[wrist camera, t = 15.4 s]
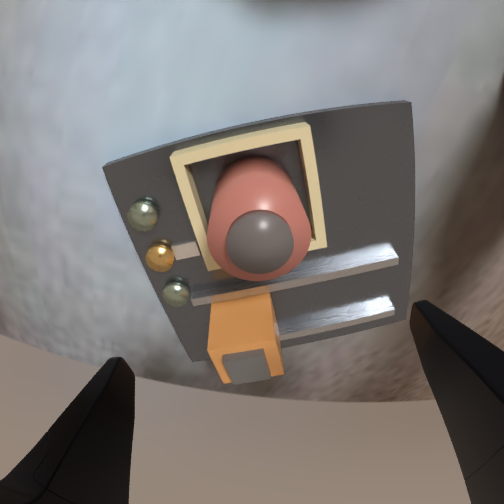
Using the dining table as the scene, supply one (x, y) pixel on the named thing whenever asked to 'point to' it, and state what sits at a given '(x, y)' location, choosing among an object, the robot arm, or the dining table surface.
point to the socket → (241, 143)
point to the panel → (335, 219)
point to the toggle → (245, 339)
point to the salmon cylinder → (257, 221)
